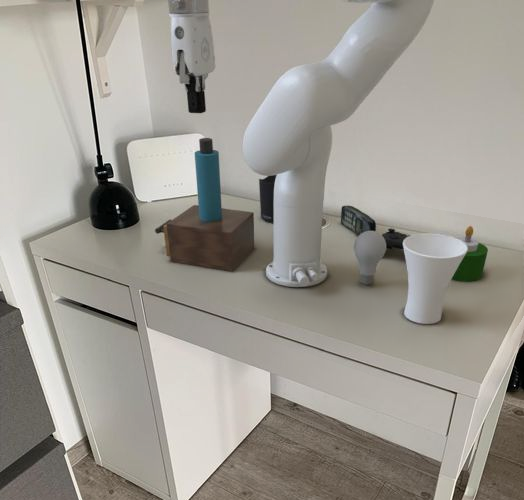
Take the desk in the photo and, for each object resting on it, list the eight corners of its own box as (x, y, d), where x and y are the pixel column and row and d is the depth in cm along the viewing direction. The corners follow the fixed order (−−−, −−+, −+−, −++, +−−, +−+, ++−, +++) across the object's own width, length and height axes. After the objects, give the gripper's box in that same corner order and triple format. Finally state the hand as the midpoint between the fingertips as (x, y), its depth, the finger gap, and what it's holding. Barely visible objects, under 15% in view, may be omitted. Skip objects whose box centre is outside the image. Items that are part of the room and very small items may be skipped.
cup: (393, 327, 95) (403, 255, 87) (392, 299, 103) (401, 231, 96) (455, 333, 93) (472, 259, 86) (449, 303, 102) (464, 234, 94)
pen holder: (256, 212, 144) (256, 174, 138) (291, 210, 145) (292, 172, 139) (263, 225, 136) (262, 185, 130) (299, 222, 137) (301, 182, 132)
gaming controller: (360, 239, 116) (381, 217, 122) (360, 263, 120) (381, 240, 126) (423, 254, 109) (443, 230, 115) (421, 279, 113) (440, 255, 119)
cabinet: (170, 261, 119) (166, 223, 114) (196, 240, 128) (193, 204, 124) (232, 271, 114) (230, 232, 109) (254, 249, 124) (253, 212, 119)
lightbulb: (364, 274, 112) (369, 223, 106) (387, 285, 108) (394, 232, 102) (344, 283, 109) (348, 231, 103) (367, 294, 105) (373, 240, 99)
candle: (454, 283, 108) (463, 236, 103) (432, 266, 115) (440, 221, 110) (490, 278, 110) (502, 231, 105) (467, 262, 117) (476, 216, 111)
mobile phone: (339, 204, 134) (372, 223, 122) (350, 203, 135) (383, 221, 123) (338, 224, 137) (370, 244, 125) (348, 222, 138) (381, 242, 126)
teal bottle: (223, 220, 115) (219, 141, 106) (201, 222, 114) (195, 142, 105) (219, 213, 119) (215, 135, 110) (197, 215, 118) (191, 137, 109)
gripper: (189, 8, 96) (198, 120, 106) (222, 6, 107) (228, 107, 117) (151, 8, 98) (163, 118, 108) (188, 6, 110) (196, 105, 120)
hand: (197, 112), depth 113 cm, fingers closed
